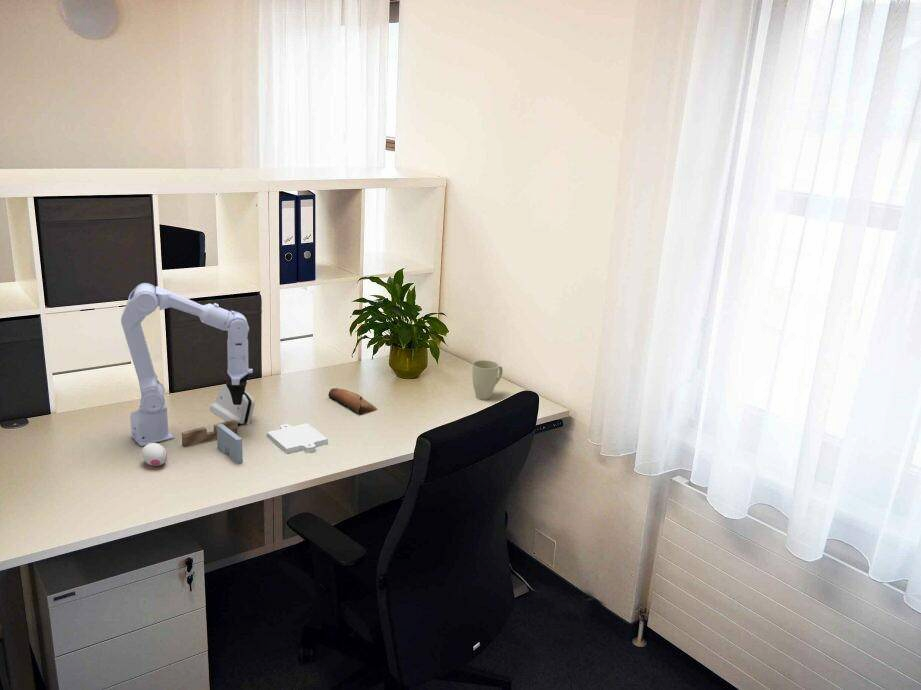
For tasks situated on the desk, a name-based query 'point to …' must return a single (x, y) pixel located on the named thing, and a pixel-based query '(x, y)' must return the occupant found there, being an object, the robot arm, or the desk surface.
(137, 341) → the robot arm
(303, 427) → the mounting plate
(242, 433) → the desk surface
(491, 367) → the mug
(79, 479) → the desk surface
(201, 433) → the walnut plate
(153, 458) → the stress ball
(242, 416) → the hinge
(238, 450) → the upright grey panel
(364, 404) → the sunglasses case
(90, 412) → the desk surface
